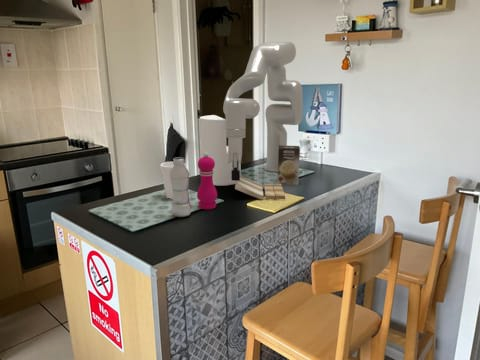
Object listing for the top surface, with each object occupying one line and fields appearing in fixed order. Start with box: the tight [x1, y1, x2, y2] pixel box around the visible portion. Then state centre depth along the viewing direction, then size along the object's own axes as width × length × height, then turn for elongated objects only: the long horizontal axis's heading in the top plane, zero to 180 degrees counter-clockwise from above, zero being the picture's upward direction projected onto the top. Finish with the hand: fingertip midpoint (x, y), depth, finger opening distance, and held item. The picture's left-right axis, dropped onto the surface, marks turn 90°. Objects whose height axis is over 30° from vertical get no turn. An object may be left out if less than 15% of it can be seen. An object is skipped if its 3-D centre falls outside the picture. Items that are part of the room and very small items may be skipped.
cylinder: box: [199, 114, 242, 186], centre depth 175 cm, size 17×17×28 cm
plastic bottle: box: [170, 156, 192, 218], centre depth 134 cm, size 6×7×20 cm
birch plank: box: [234, 175, 264, 201], centre depth 158 cm, size 16×11×2 cm
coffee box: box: [276, 145, 301, 186], centre depth 171 cm, size 9×6×16 cm
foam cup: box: [159, 161, 186, 200], centre depth 155 cm, size 10×9×13 cm
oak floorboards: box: [263, 183, 286, 200], centre depth 159 cm, size 16×7×2 cm, turn 179°
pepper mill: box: [196, 153, 218, 210], centre depth 142 cm, size 7×7×20 cm
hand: (235, 179), depth 157 cm, fingers closed
